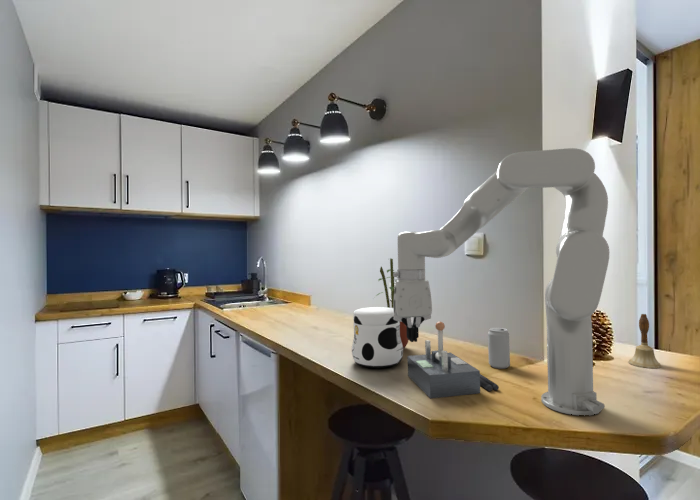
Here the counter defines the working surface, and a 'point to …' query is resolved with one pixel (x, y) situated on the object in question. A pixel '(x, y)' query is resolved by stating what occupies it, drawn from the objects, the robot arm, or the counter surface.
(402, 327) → the potted plant
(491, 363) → the beverage can
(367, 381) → the counter surface
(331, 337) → the counter surface
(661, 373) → the counter surface
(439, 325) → the lever
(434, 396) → the breaker panel
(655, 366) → the hand bell
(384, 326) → the milk container
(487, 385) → the cord bundle
